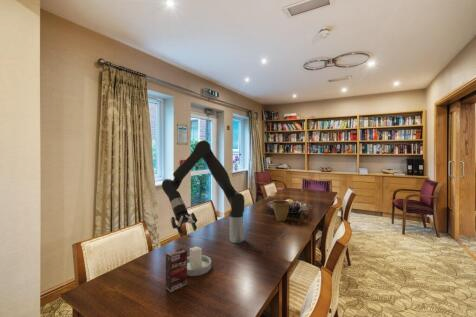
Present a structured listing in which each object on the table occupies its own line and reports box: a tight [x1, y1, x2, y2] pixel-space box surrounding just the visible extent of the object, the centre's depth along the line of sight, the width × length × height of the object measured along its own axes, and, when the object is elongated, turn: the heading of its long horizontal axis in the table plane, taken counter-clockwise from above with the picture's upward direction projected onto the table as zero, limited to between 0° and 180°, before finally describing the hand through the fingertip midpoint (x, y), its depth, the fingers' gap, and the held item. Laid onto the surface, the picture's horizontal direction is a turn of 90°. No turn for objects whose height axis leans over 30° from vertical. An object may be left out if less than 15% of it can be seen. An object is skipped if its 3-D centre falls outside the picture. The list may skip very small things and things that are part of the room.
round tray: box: [187, 254, 212, 277], centre depth 120 cm, size 16×16×3 cm
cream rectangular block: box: [189, 246, 203, 269], centre depth 120 cm, size 5×5×9 cm
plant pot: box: [272, 199, 291, 222], centre depth 200 cm, size 15×15×16 cm
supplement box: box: [165, 248, 188, 293], centre depth 103 cm, size 9×5×16 cm, turn 136°
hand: (188, 231), depth 125 cm, fingers open, 8 cm apart
